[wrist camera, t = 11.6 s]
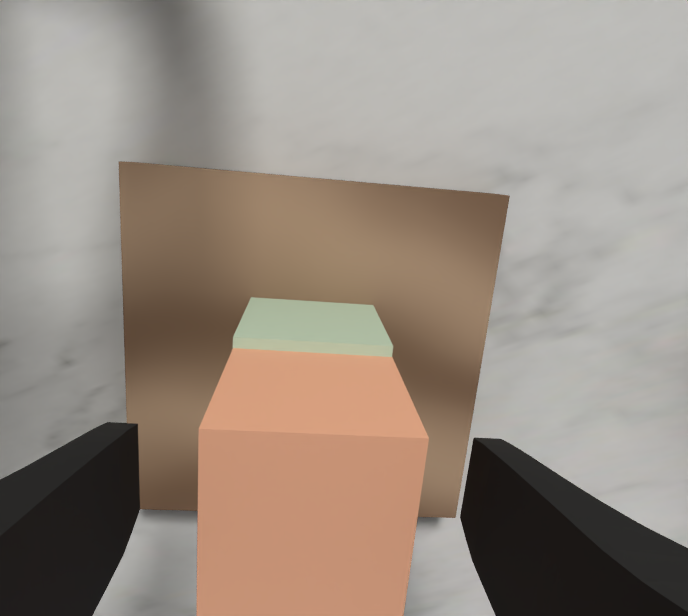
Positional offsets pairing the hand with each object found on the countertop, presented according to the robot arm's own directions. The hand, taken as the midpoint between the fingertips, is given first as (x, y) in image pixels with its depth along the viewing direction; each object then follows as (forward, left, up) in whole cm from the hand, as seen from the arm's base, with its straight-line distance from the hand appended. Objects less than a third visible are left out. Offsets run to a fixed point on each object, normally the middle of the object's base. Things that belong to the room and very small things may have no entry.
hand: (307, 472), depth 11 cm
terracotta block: (0, 0, -2) cm, 2 cm away
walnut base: (0, 0, -8) cm, 8 cm away
